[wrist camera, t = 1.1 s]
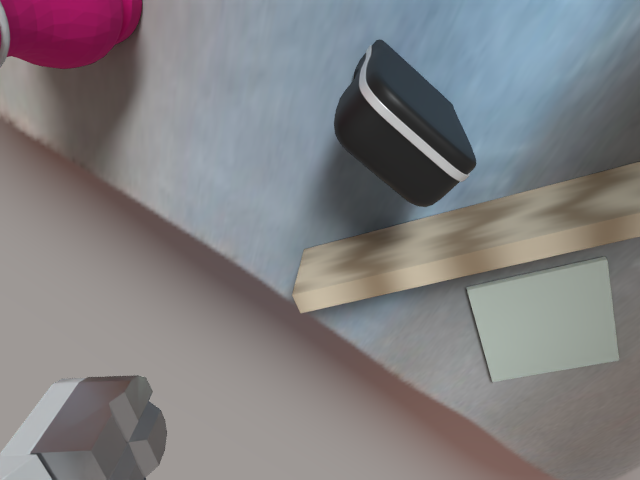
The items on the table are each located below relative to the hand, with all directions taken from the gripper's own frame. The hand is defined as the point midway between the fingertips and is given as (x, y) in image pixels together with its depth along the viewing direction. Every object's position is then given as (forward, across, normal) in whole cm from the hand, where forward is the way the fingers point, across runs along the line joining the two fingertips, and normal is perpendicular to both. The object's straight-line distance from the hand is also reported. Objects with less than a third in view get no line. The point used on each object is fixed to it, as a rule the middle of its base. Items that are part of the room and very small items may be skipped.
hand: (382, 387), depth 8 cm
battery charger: (+28, -1, +2) cm, 28 cm away
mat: (+28, -11, +22) cm, 37 cm away
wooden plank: (+28, -5, +11) cm, 30 cm away
